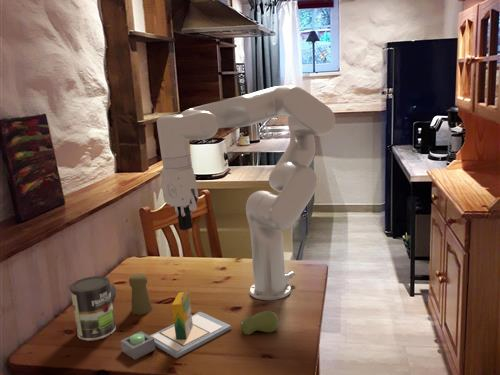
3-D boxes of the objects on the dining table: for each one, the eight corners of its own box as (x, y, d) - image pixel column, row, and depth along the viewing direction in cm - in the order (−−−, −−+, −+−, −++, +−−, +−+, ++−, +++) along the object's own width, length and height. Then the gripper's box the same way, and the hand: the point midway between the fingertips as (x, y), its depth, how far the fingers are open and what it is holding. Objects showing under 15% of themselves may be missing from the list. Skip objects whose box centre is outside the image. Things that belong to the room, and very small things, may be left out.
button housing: (142, 341, 132) (141, 331, 131) (155, 349, 127) (154, 338, 127) (122, 351, 128) (120, 340, 127) (134, 359, 124) (133, 348, 123)
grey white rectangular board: (200, 314, 144) (200, 310, 144) (231, 329, 135) (230, 324, 135) (146, 340, 132) (146, 336, 132) (176, 358, 123) (175, 353, 123)
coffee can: (124, 326, 141) (117, 279, 137) (95, 344, 132) (87, 294, 129) (98, 319, 146) (91, 273, 143) (69, 335, 138) (61, 287, 134)
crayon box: (182, 325, 136) (177, 285, 133) (193, 325, 136) (189, 285, 133) (175, 339, 129) (170, 297, 126) (186, 339, 128) (182, 297, 126)
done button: (140, 344, 130) (139, 332, 129) (148, 349, 128) (147, 336, 127) (128, 350, 128) (126, 337, 127) (136, 355, 125) (134, 342, 124)
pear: (275, 316, 128) (237, 323, 130) (280, 334, 130) (242, 341, 131) (276, 305, 134) (239, 312, 135) (280, 323, 135) (244, 330, 136)
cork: (147, 315, 146) (143, 279, 144) (128, 314, 148) (123, 279, 145) (155, 305, 152) (151, 271, 150) (136, 305, 153) (132, 271, 151)
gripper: (148, 163, 135) (158, 228, 140) (183, 167, 125) (192, 237, 129) (171, 157, 140) (180, 220, 145) (206, 161, 130) (214, 229, 134)
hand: (186, 228), depth 137 cm, fingers closed
